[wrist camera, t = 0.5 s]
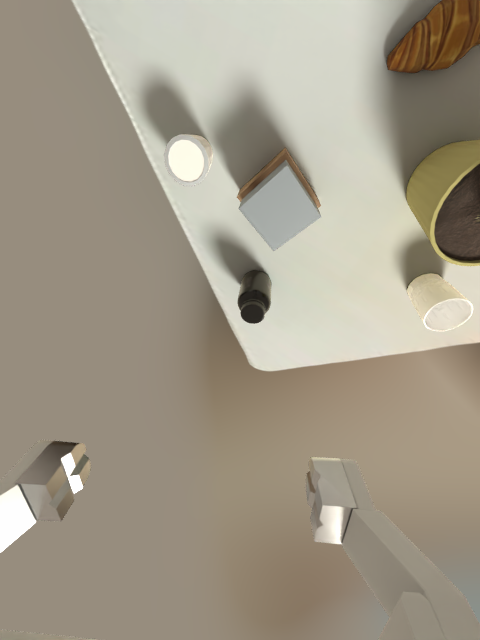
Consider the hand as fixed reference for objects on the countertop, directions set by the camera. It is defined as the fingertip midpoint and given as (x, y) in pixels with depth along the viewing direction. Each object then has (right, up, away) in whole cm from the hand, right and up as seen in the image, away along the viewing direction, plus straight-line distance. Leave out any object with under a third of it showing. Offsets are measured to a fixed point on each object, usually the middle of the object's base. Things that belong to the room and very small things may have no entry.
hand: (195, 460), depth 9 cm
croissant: (+28, +42, +24) cm, 56 cm away
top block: (+8, +25, +34) cm, 43 cm away
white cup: (+41, +12, +47) cm, 64 cm away
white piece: (-6, +34, +35) cm, 49 cm away
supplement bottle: (+5, +14, +50) cm, 53 cm away
